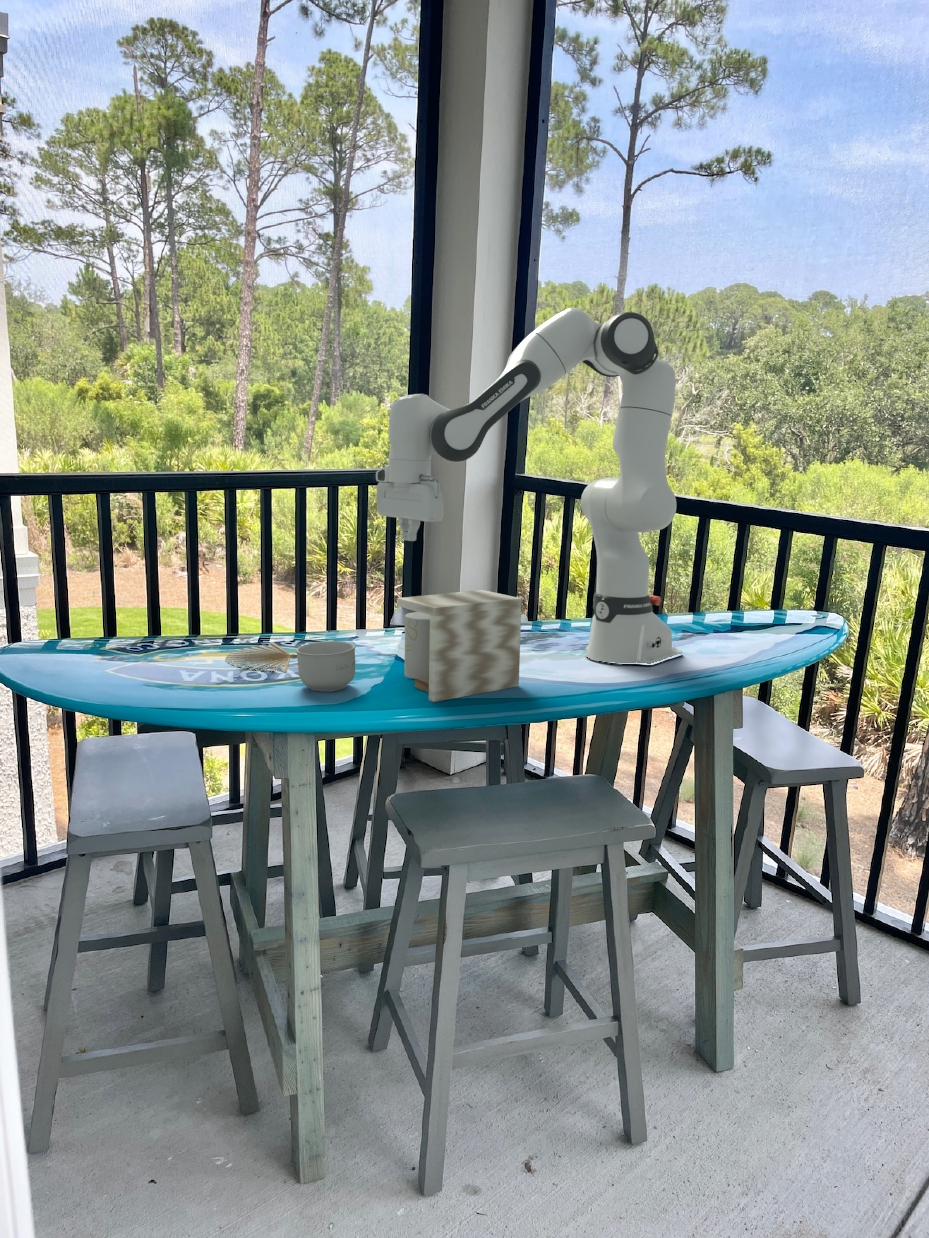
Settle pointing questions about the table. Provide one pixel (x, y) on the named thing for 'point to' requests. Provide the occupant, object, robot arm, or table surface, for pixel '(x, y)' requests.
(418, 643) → the cup
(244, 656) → the hand fan
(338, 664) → the teacup
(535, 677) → the table surface
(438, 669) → the marbled side table
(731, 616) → the table surface
